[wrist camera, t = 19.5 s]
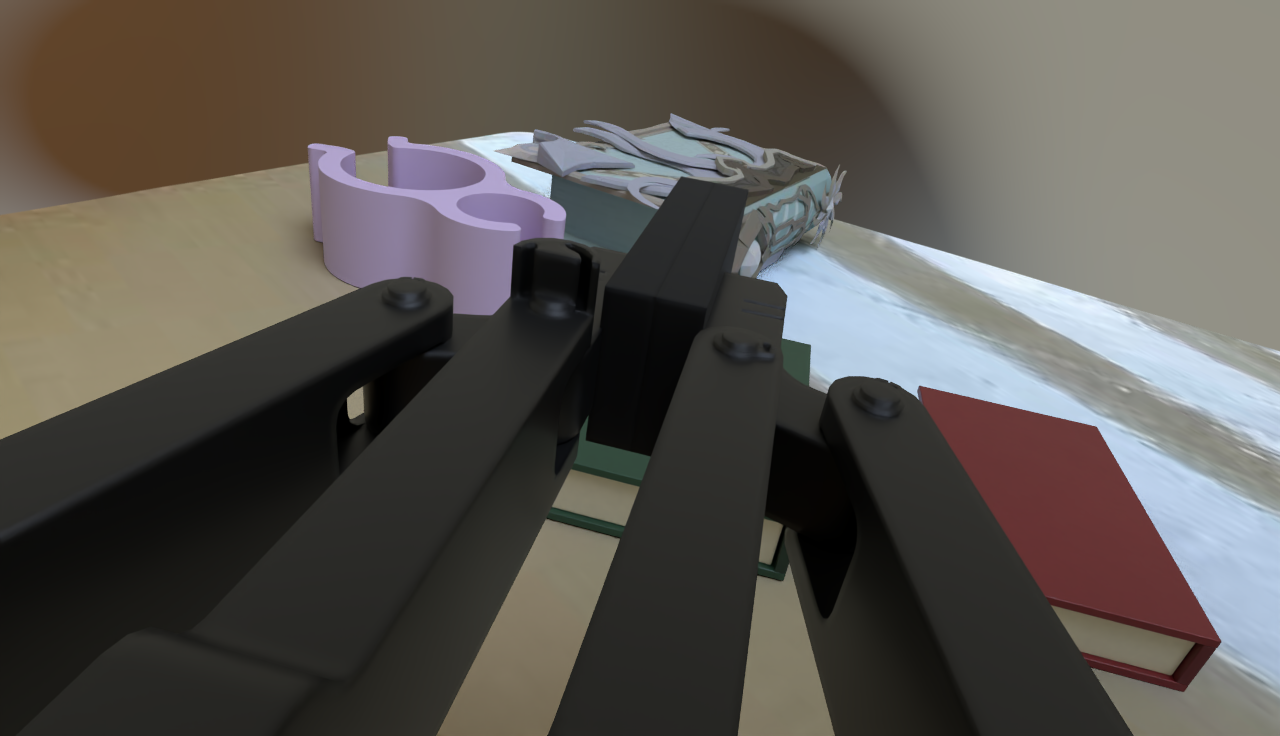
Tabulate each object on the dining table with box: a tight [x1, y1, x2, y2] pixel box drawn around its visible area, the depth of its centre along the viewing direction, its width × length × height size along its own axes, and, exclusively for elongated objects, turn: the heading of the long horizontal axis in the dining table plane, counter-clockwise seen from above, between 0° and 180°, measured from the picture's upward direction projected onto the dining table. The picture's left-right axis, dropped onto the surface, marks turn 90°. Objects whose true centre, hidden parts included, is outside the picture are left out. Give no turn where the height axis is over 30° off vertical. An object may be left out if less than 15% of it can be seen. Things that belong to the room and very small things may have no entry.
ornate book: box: [495, 114, 846, 279], centre depth 67 cm, size 23×10×30 cm
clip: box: [308, 136, 566, 315], centre depth 54 cm, size 20×12×7 cm, turn 51°
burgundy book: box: [917, 386, 1221, 692], centre depth 38 cm, size 3×10×16 cm
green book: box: [546, 339, 811, 581], centre depth 40 cm, size 3×11×17 cm
